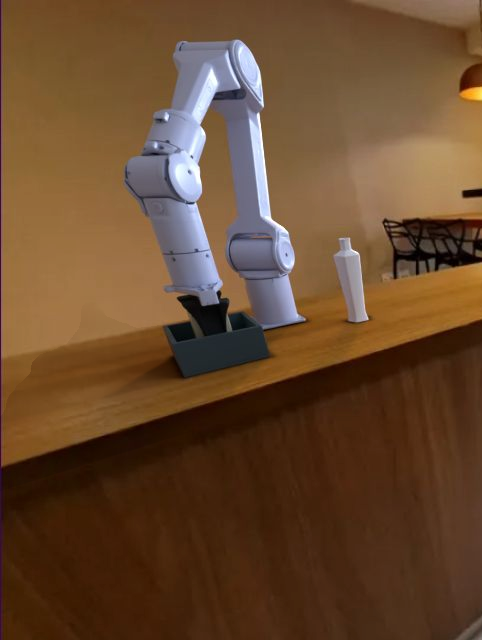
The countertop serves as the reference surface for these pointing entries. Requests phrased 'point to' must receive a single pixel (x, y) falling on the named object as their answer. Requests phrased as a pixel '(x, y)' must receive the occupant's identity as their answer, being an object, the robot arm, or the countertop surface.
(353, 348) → the countertop surface
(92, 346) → the countertop surface
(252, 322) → the bin
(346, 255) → the perfume bottle
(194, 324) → the juice carton
